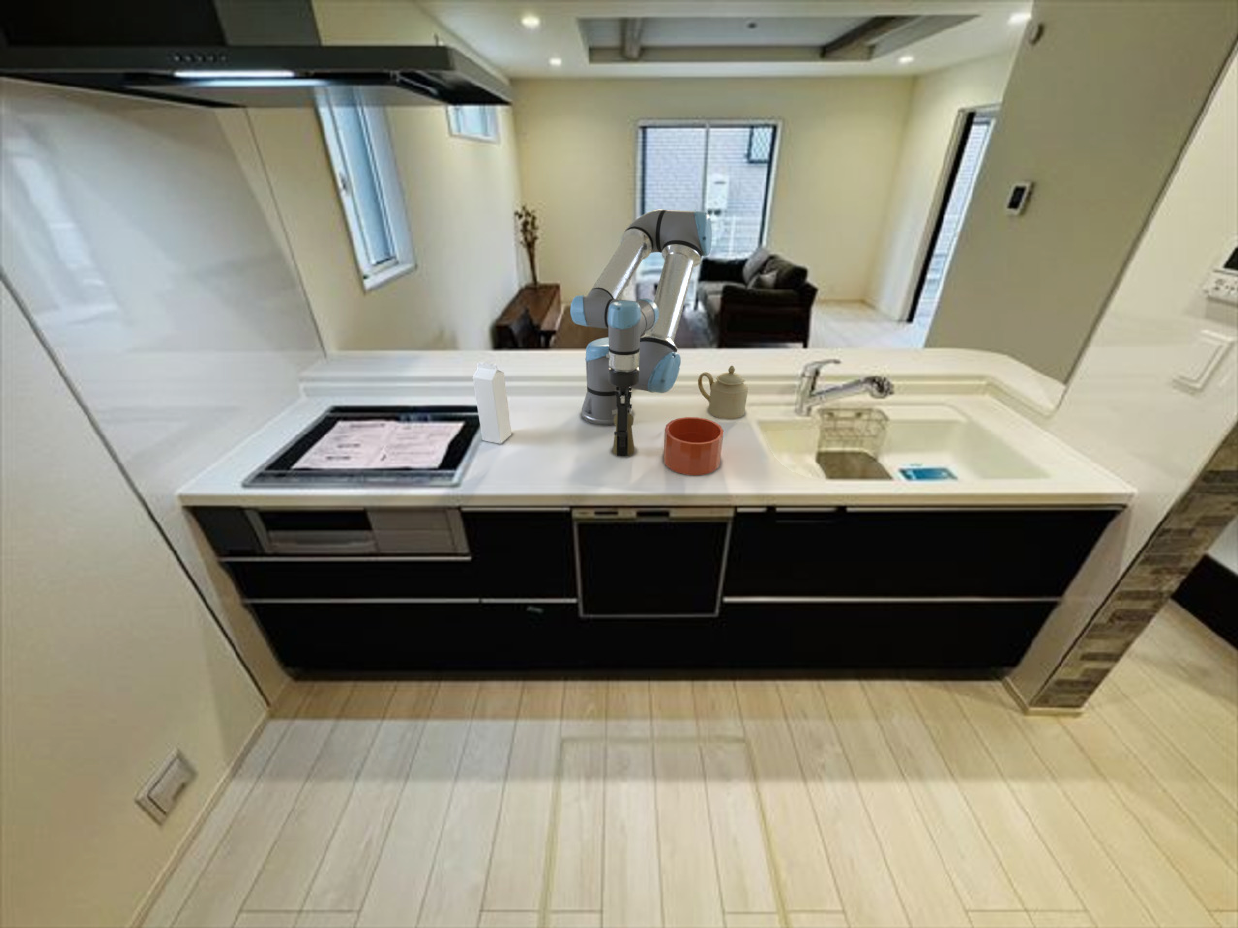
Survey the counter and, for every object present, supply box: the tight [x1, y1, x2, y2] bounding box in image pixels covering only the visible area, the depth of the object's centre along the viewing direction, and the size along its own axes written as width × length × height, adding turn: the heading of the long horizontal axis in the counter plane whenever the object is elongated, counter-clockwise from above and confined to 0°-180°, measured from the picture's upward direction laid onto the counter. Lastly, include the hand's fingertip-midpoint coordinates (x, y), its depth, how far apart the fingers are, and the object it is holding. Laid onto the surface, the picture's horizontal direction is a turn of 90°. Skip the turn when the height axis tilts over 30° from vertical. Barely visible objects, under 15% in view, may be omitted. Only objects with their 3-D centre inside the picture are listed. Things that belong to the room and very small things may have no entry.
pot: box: [662, 416, 724, 476], centre depth 133 cm, size 15×15×9 cm
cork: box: [612, 413, 635, 458], centre depth 137 cm, size 6×6×11 cm
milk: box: [472, 361, 512, 445], centre depth 140 cm, size 6×6×22 cm
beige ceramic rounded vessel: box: [697, 365, 749, 420], centre depth 156 cm, size 15×11×15 cm
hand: (623, 443), depth 138 cm, fingers open, 13 cm apart
